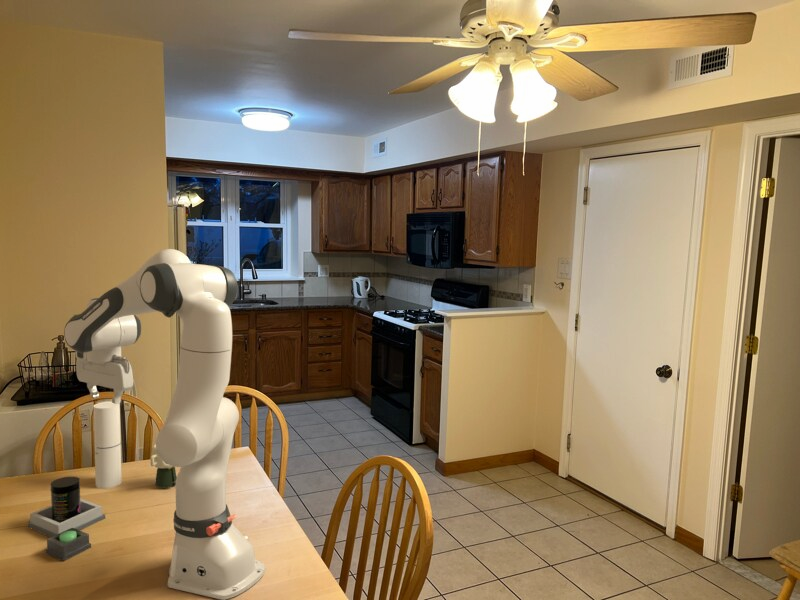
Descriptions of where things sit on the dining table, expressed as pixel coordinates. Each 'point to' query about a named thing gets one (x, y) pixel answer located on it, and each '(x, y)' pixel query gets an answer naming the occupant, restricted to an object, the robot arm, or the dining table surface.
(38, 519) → the square shallow tray
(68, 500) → the supplement container
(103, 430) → the cylindrical container
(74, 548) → the button housing
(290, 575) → the dining table surface
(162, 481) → the character mug
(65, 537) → the button
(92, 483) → the dining table surface
